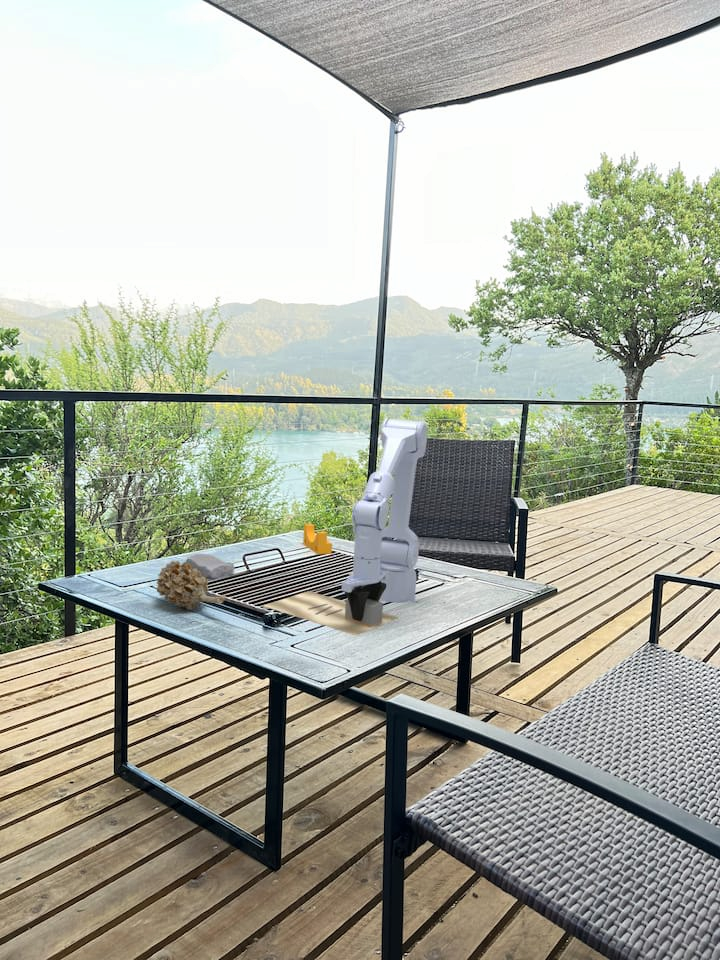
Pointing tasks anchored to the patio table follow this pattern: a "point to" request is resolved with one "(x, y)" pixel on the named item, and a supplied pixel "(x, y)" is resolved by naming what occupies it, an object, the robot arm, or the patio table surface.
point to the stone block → (210, 566)
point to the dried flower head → (184, 586)
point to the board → (322, 611)
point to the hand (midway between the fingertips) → (363, 617)
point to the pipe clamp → (316, 540)
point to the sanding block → (367, 613)
